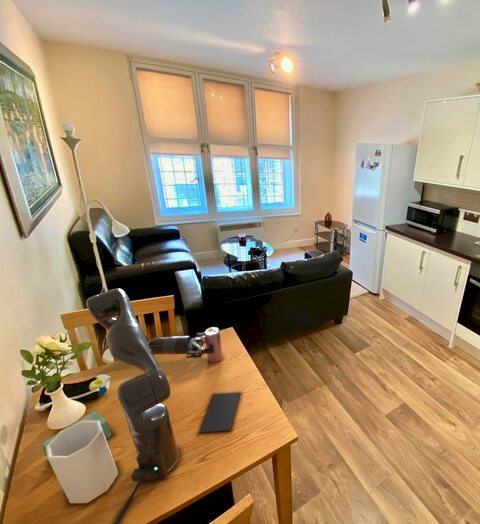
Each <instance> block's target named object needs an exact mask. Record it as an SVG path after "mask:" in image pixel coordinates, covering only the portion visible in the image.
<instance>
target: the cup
mask: <svg viewBox="0 0 480 524" xmlns="http://www.w3.org/2000/svg"><path fill="white" fill-rule="evenodd" d="M75 423H76V422H75ZM73 424H74V423H73ZM73 424H71V425H72V426H71V425H69V426H70V427H69V426H68V427H66V428H63V429H61V430H60V431H59V432H58V433H57V434H56V435H57V436H56V437H55V438H54V439H53V440H52V441H51V442H50V443H49V444H48V445H47V446H46V451H47V457H46V458H47V461H48V462H49V464H50V467H51V468H52V470H53V472H54V474H55V476H56V478H57V480H58V482H59V484H60V486H61V488H62V491H63V492H64V494H65V496H66V498H67V500H68V502H69V504H88V503H90V502H91V501H93V500H95V499H96V498H98V497H99V496H101V495H103V494H104V493H106V492H107V491H108V490H110V489H109V488H111V486H112V484H113V483H114V481H115V479H116V478H117V477H118V475H119V471H118V469H117V465H116V461H115V460H114V457H113V455H112V451H111V449H110V446H109V444H108V441H107V439H106V438H105V436H104V433H103V430H102V427H101V425H100V422H99V421H80V422H78V423H76V424H74V425H73Z"/></svg>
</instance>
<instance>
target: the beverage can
mask: <svg viewBox="0 0 480 524" xmlns="http://www.w3.org/2000/svg"><path fill="white" fill-rule="evenodd" d="M204 333H205V341H206V343H205V348H214V353H209V354H206V355H207V360H208V361H209V362H210V363H216V362H217V363H218V362H219V361H221V359H222V358H223V347H222V340H221V333H220V329H219V327H216V326H212V327H208V328H207V329H205V331H204Z"/></svg>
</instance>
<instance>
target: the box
mask: <svg viewBox="0 0 480 524" xmlns="http://www.w3.org/2000/svg"><path fill="white" fill-rule="evenodd" d="M80 421H99V422H100V425H101V427H102V430H103V433H104V436H105V438H106V440H107V439H109V438H110V437H112V436H113V432H112V430H111V428H110V425H109V423H108V421H107V419H106V418H105V417H103V415H101V414H100V413H98V411H97V410H94V411H92V412H91V413H89V414H87V415H85V416H84V417H82V418H80V419H79V420H78V421H76V422H74V423H73V424H71V425H69V426H68V427H70V426H72V425H74V424H76V423H78V422H80ZM56 436H57V434H55V435H53V436H51V437H50V438H49V439H47V440H46V441H44V442H43V443H42V445H41V448H42V451H43V454H44V455H45V457H46V458H47V451H46V446H47V445H48V444H49V443H50V442H51V441H52V440H53V439H54V438H55V437H56Z"/></svg>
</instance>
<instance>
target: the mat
mask: <svg viewBox="0 0 480 524" xmlns="http://www.w3.org/2000/svg"><path fill="white" fill-rule="evenodd" d="M240 396H241V392H226V393H212V397H211V399H210V402H209V405H208V408H207V410H206V413H205V415H204V418H203V421H202V424H201V426H200V429H199V434H206V433H208V434H209V433H223V432H231V430H232V427H233V422H234V419H235V415H236V411H237V407H238V403H239V400H240Z"/></svg>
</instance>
